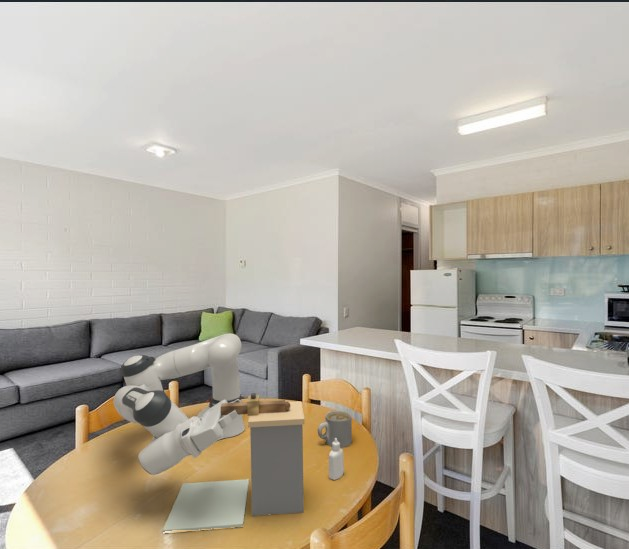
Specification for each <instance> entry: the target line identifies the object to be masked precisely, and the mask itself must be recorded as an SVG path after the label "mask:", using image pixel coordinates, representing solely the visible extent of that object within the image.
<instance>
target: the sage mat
mask: <svg viewBox="0 0 629 549" xmlns="http://www.w3.org/2000/svg"><path fill="white" fill-rule="evenodd" d="M249 485H250V479H249V478H246V479H231V480H229V479H228V480H219V481H218V480H216V481H204V482H203V481H200V482H189V483H187V482H186V483H182V485H181V487H180V489H179V491H178V494H177V496H176V499H175V502H173V506H172V508H171V511H170V512H169V515H168V517H167V520H166V522H165V524H164V526H163V528H162V533H163V532H165V531H172V530H199V529H200V530H201V529H211V528H212V529H214V528H231V527H241V526H243V527H244V524H243V522H245V516H246V509H245V508H246V507H247V501H248V494H247V493H249ZM244 515H245V516H244Z"/></svg>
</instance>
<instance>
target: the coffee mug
mask: <svg viewBox="0 0 629 549" xmlns="http://www.w3.org/2000/svg"><path fill="white" fill-rule="evenodd" d="M324 418H325V421H324V422H321V423H320V424H319V425H318V427H317V434H318V437H319V438H320V439H322V440H325V444H326V445H328V446H329V447H332V442H334V440H335V438H337V441H338V442H339V443H340V449H343V448H347V447H349V446H350V445H351V444H352V443H353V433H352V432H353V431H352V430H353V428H352V427H353V426H352V424H353V422H352V420H353V419H352V414H351V413H350V412H348V411H345V410H331V411H328V412H327V413H326V414H325V417H324ZM324 428H325V433H324V434H323V433H322V431H323V429H324Z"/></svg>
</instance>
